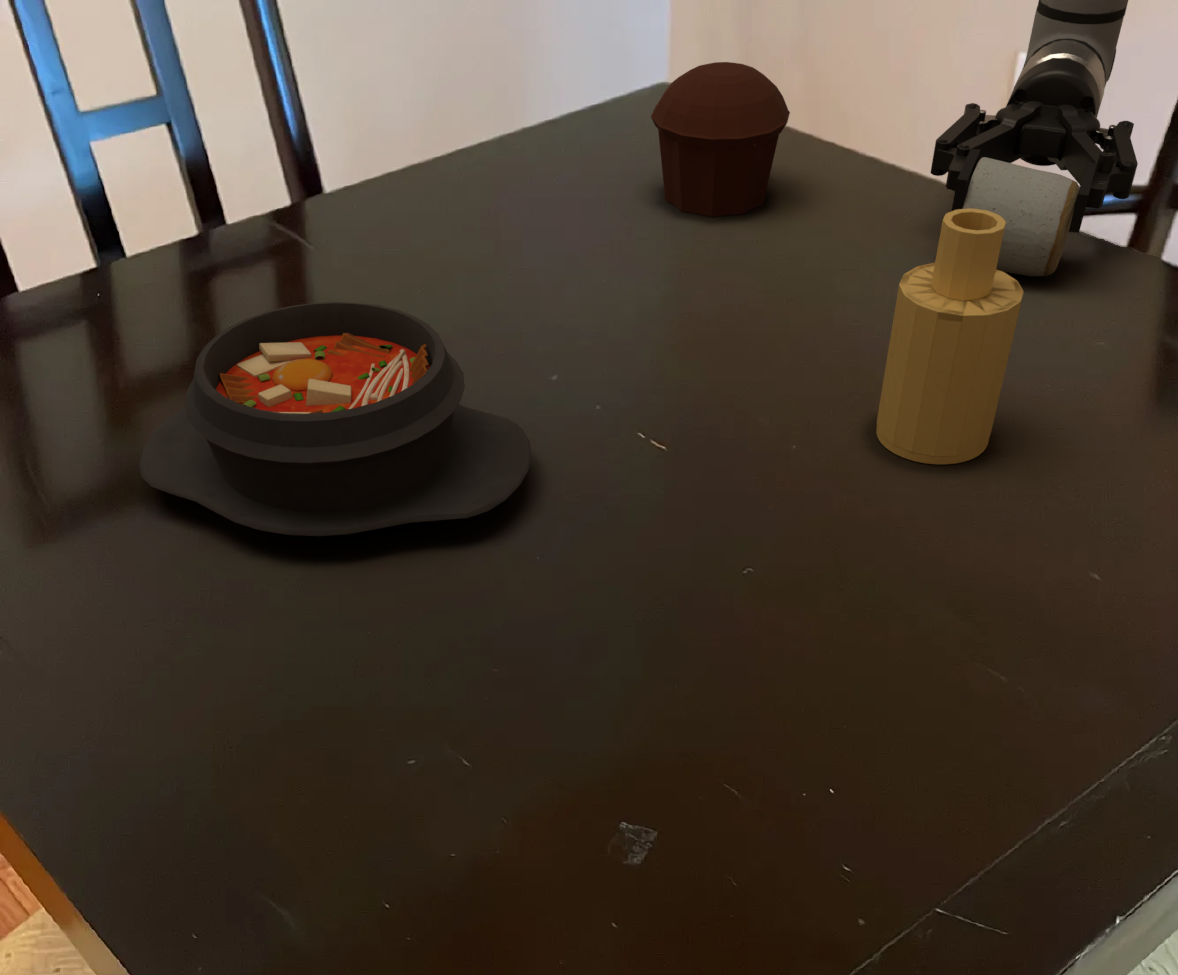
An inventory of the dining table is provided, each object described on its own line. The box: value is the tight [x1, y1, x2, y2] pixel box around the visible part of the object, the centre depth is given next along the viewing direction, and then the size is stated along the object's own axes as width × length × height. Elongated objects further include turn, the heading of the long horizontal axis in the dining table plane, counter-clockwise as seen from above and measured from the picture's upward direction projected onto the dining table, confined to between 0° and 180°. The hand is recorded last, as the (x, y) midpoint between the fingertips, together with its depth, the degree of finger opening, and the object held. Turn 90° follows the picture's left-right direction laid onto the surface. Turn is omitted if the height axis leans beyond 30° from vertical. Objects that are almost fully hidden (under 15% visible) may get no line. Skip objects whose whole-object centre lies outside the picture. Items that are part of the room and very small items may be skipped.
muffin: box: [650, 61, 791, 218], centre depth 114 cm, size 12×11×10 cm
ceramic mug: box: [962, 157, 1080, 277], centre depth 105 cm, size 11×8×8 cm
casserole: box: [138, 301, 532, 537], centre depth 83 cm, size 25×19×8 cm
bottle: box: [875, 208, 1024, 465], centre depth 84 cm, size 7×7×14 cm
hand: (1018, 206), depth 100 cm, fingers closed on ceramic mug, 8 cm apart
